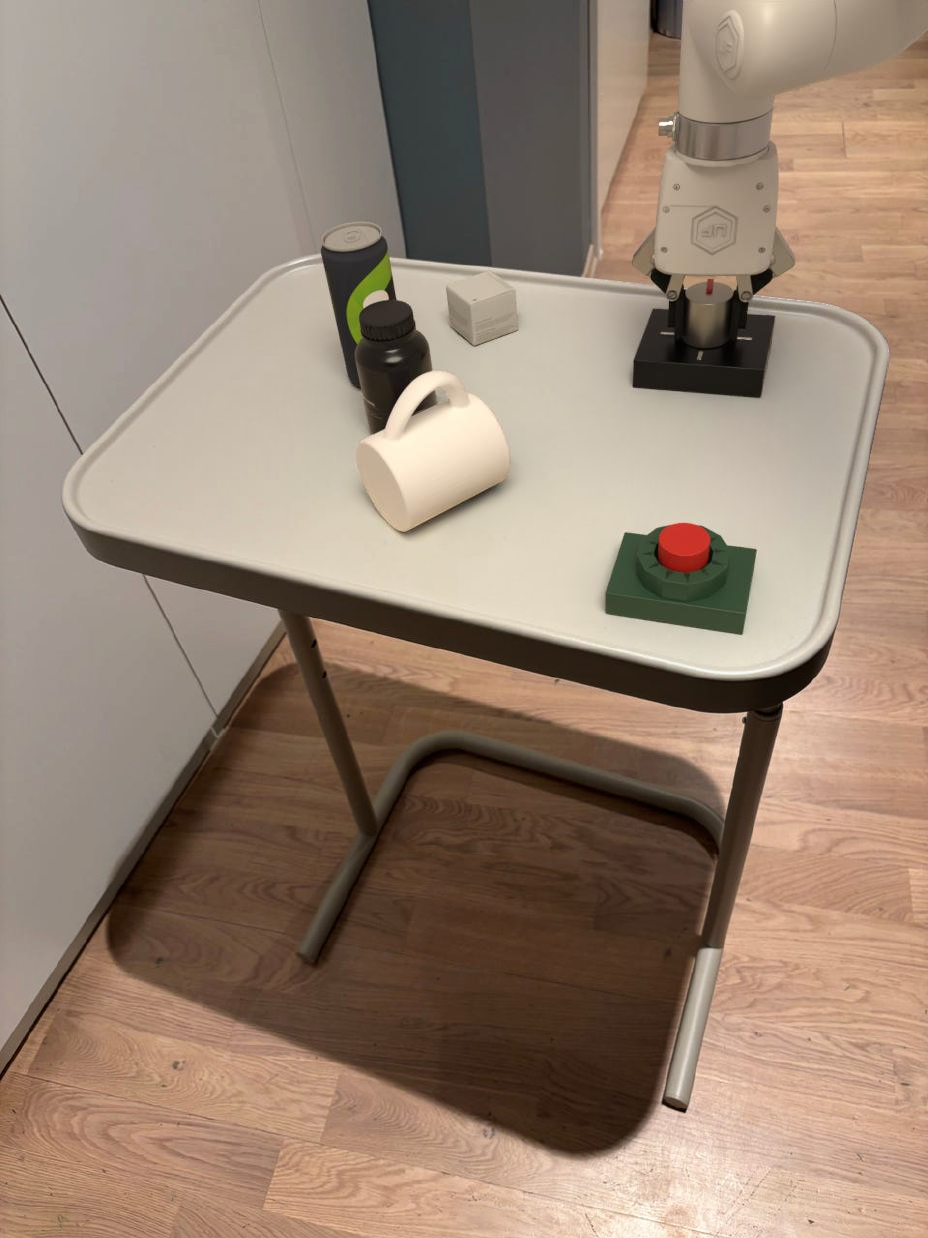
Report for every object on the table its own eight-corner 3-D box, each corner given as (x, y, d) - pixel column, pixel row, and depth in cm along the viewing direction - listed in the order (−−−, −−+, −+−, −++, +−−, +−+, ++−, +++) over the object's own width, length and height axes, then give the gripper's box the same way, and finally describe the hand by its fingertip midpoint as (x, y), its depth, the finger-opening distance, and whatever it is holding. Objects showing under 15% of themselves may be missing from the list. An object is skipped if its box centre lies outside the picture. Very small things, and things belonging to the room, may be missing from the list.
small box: (520, 330, 101) (517, 287, 97) (473, 347, 99) (468, 304, 96) (493, 310, 105) (490, 267, 101) (448, 326, 103) (443, 284, 100)
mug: (365, 503, 83) (337, 384, 74) (460, 455, 86) (445, 336, 78) (415, 549, 78) (391, 428, 69) (514, 496, 81) (504, 375, 73)
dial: (728, 349, 88) (733, 301, 85) (680, 348, 89) (683, 300, 86) (730, 325, 91) (735, 278, 88) (683, 324, 92) (686, 278, 89)
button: (711, 543, 69) (713, 525, 68) (704, 576, 67) (706, 558, 66) (662, 537, 70) (663, 519, 69) (653, 569, 68) (654, 551, 67)
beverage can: (350, 365, 100) (319, 224, 89) (408, 357, 99) (384, 216, 89) (348, 397, 95) (316, 253, 85) (409, 389, 95) (384, 244, 84)
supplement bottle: (356, 439, 90) (330, 325, 81) (393, 401, 94) (371, 288, 85) (418, 454, 87) (398, 336, 79) (453, 414, 91) (437, 298, 83)
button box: (753, 569, 72) (759, 530, 69) (742, 635, 68) (748, 595, 65) (624, 552, 75) (624, 513, 72) (605, 613, 70) (605, 575, 68)
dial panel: (771, 342, 94) (775, 313, 92) (760, 397, 88) (764, 368, 85) (651, 334, 97) (652, 306, 95) (632, 387, 91) (633, 358, 89)
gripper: (613, 151, 77) (612, 351, 90) (833, 146, 73) (798, 356, 86) (624, 118, 82) (621, 312, 95) (830, 111, 78) (798, 315, 91)
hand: (706, 331), depth 90 cm, fingers closed on dial, 4 cm apart
